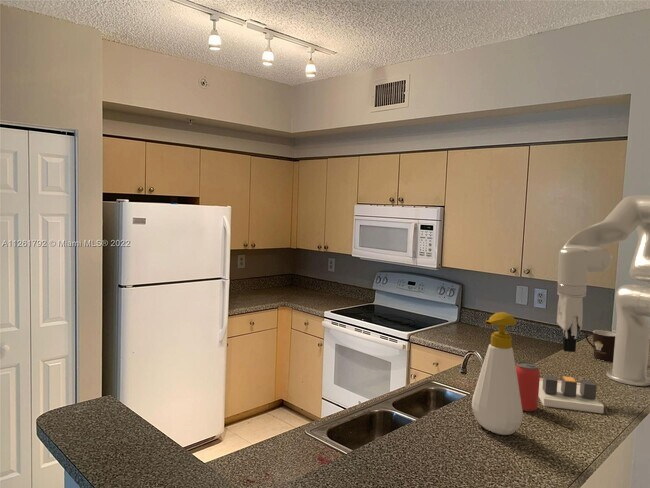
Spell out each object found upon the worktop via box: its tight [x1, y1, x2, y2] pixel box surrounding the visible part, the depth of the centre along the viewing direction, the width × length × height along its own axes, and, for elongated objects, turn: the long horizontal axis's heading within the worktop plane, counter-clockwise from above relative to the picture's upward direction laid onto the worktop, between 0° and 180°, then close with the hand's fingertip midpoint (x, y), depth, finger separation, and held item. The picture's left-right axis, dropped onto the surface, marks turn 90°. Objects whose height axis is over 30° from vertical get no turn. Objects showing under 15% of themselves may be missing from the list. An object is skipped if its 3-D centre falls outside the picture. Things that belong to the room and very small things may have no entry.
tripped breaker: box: [561, 376, 578, 397], centre depth 136 cm, size 4×3×4 cm
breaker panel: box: [538, 374, 605, 414], centre depth 139 cm, size 18×15×6 cm
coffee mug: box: [584, 329, 616, 362], centre depth 181 cm, size 12×9×10 cm
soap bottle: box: [471, 311, 524, 436], centre depth 115 cm, size 13×10×29 cm
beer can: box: [515, 361, 541, 412], centre depth 131 cm, size 7×7×12 cm
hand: (568, 350), depth 142 cm, fingers closed
